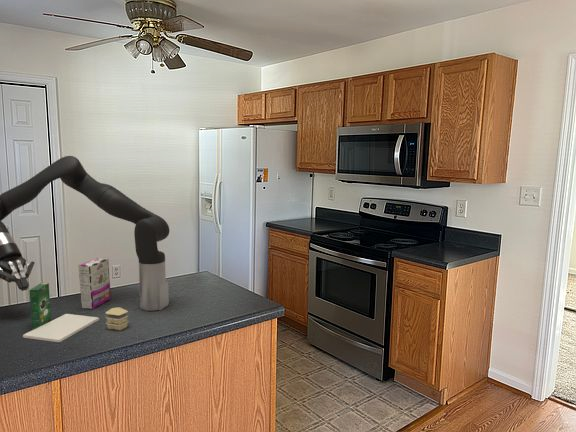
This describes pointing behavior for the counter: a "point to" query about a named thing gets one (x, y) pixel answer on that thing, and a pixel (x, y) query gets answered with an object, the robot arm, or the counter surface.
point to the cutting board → (61, 328)
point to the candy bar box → (94, 283)
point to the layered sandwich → (116, 318)
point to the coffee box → (40, 305)
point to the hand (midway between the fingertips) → (25, 289)
